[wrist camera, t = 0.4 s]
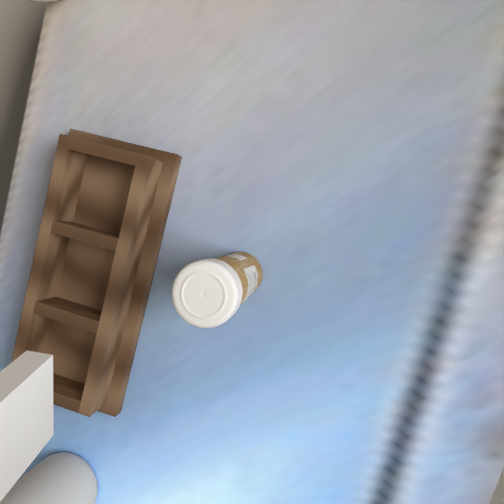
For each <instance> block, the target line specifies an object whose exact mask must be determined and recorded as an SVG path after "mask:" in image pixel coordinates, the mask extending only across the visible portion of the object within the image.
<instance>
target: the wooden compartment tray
mask: <svg viewBox="0 0 504 504" xmlns="http://www.w3.org/2000/svg"><path fill="white" fill-rule="evenodd" d="M181 158H182V157H181V156H179V155H177V154H173V153H169V152H165V151H161V150H156V149H152V148H148V147H144V146H140V145H136V144H131V143H127V142H123V141H119V140H115V139H111V138H106V137H102V136H98V135H94V134H90V133H85V132H81V131H77V130H73V129H70V133H69V136H66V135H62V134H60V136H59V140H58V145H57V150H56V154H55V159H54V164H53V169H52V173H51V178H50V183H49V187H48V192H47V197H46V202H45V206H44V211H43V216H42V220H41V225H40V230H39V235H38V239H37V244H36V249H35V253H34V258H33V263H32V267H31V272H30V277H29V282H28V286H27V291H26V296H25V300H24V305H23V310H22V315H21V319H20V324H19V329H18V333H17V338H16V343H15V347H14V352H13V357H12V362H13V361H14V360H15V359H17V358H18V357H19V356H20V355H22V354H23V353H24V352H26V351H32V352H39V353H45V354H51V355H53V404H55V405H58V406H60V407H63V408H66V409H69V410H71V411H74V412H77V413H80V414H83V415H85V416H88V417H90V416H91V415H92V414H94V413H95V412H96V411H100V412H103V413H106V414H108V415H111V416H114V417H115V416H116V415H118V414H119V413H120V412H121V409H122V404H123V400H124V396H125V392H126V388H127V384H128V379H129V375H130V371H131V367H132V363H133V359H134V354H135V350H136V346H137V342H138V338H139V334H140V329H141V325H142V321H143V317H144V313H145V309H146V304H147V300H148V296H149V292H150V288H151V283H152V279H153V275H154V271H155V267H156V263H157V258H158V254H159V250H160V246H161V242H162V238H163V233H164V229H165V225H166V221H167V217H168V213H169V208H170V204H171V200H172V196H173V192H174V187H175V183H176V179H177V175H178V171H179V167H180V162H181ZM12 362H11V363H12Z"/></svg>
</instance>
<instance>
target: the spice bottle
mask: <svg viewBox="0 0 504 504" xmlns="http://www.w3.org/2000/svg"><path fill="white" fill-rule="evenodd" d="M261 281H262V268H261V265H260V263H259V262H258V260H257V259H256V258H255V257H254V256H252V255H250V254H248V253H245V252H236V253H232V254H230V255H226V256H222V257H219V258H216V259H212V258H208V259H202V260H198V261H195V262H192V263H190V264H188V265H186V266H185V267H184V268H183V269H182V270H181V271H180V272H179V273H178V275H177V276H176V278H175V280H174V283H173V287H172V299H173V304H174V306H175V309H176V310H177V312H178V314H179V315H180V316H181V317H182V318H183V319H184V320H185V321H186V322H188V323H189V324H191V325H193V326H196V327H200V328H212V327H216V326H218V325H221V324H222V323H224V322H225V321H227V320H228V319H229V318H230V317H231V316H232V315H233V314H234V313H235V312H236V311H237V309H238V308H239V306H240V305H241V304H242V303H243V302H244V301H245V300H246V299H247V298H248V297H249V296H250V295H251V294H252V293H253V292H255V291H256V290H257V288H258V287H259V285H260V283H261Z"/></svg>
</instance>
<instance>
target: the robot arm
mask: <svg viewBox="0 0 504 504" xmlns="http://www.w3.org/2000/svg"><path fill="white" fill-rule="evenodd" d="M53 435H54V432H53V355H51V354H45V353H39V352H32V351H26V352H24V353H23V354H22V355H20V356H19V357H18V358H17V359H15V360H14V361H13V362H12V363H10V364H9V365H8V366H7V367H5V368H4V369H3V370H2V371H0V502H1V501H2V499H3V498H4V497H5V496H6V494H7V493H8V492H9V491H10V489H11V488H12V487H13V485H14V484H15V483H16V482H17V480H18V479H19V478H20V477H21V475H22V474H23V473H24V472H25V470H26V469H27V468H28V466H29V465H30V464H31V463H32V461H33V460H34V459H35V458H36V456H37V455H38V454H39V453H40V451H41V450H42V449H43V447H44V446H45V445H46V444H47V442H48V441H49V440H50V439H51V437H52V436H53ZM489 504H504V469H503V471H502V474H501V476H500V479H499V481H498V483H497V486H496V488H495V491H494V493H493V496H492V498H491V501H490V503H489Z"/></svg>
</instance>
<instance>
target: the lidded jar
mask: <svg viewBox="0 0 504 504" xmlns="http://www.w3.org/2000/svg"><path fill="white" fill-rule="evenodd" d="M32 1H35V2H54V1H57V0H32Z"/></svg>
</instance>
